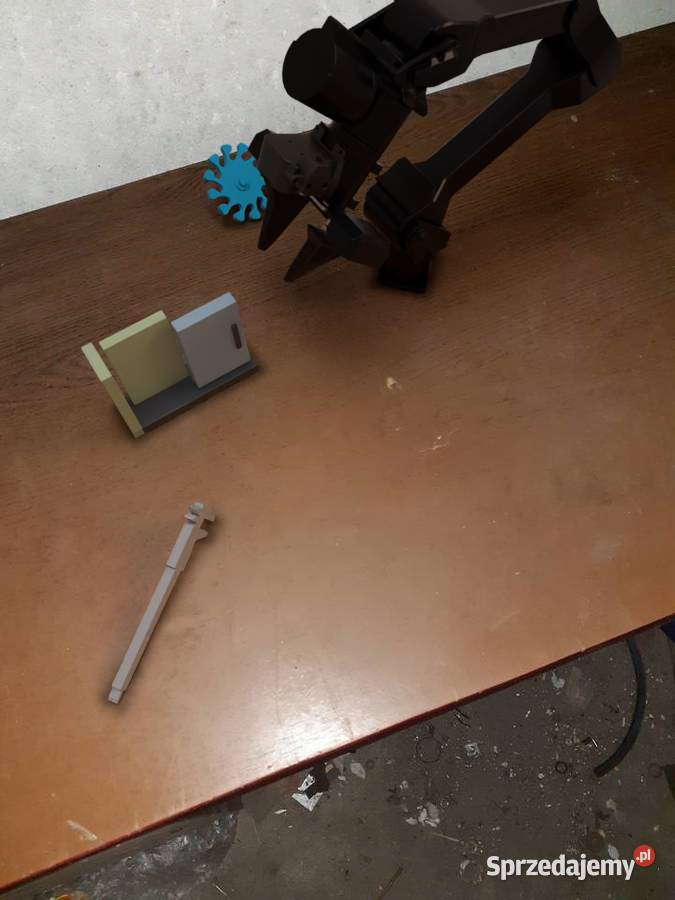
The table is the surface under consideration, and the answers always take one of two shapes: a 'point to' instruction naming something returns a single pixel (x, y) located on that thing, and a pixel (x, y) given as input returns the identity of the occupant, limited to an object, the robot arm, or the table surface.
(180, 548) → the caliper
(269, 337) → the table surface
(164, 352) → the closet frame
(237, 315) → the closet door
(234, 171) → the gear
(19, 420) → the table surface
